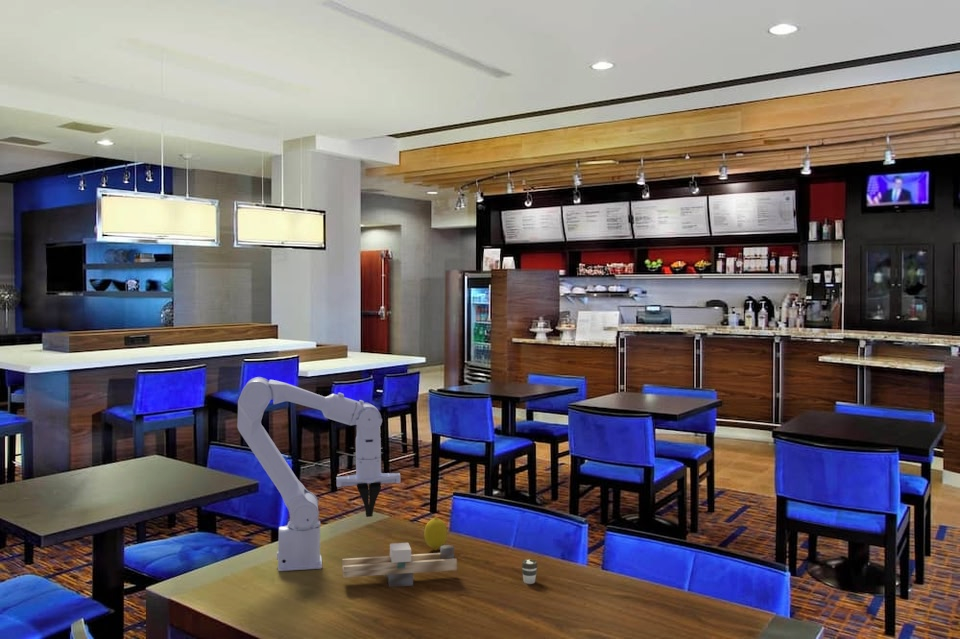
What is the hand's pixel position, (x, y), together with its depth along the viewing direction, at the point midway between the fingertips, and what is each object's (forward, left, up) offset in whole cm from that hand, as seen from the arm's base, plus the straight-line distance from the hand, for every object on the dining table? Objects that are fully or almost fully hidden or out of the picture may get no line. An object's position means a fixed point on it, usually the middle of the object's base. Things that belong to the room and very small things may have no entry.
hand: (369, 515), depth 172 cm
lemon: (+16, +4, -11) cm, 20 cm away
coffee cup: (+33, -19, -11) cm, 40 cm away
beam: (+5, -14, -10) cm, 18 cm away
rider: (+6, -14, -7) cm, 16 cm away
